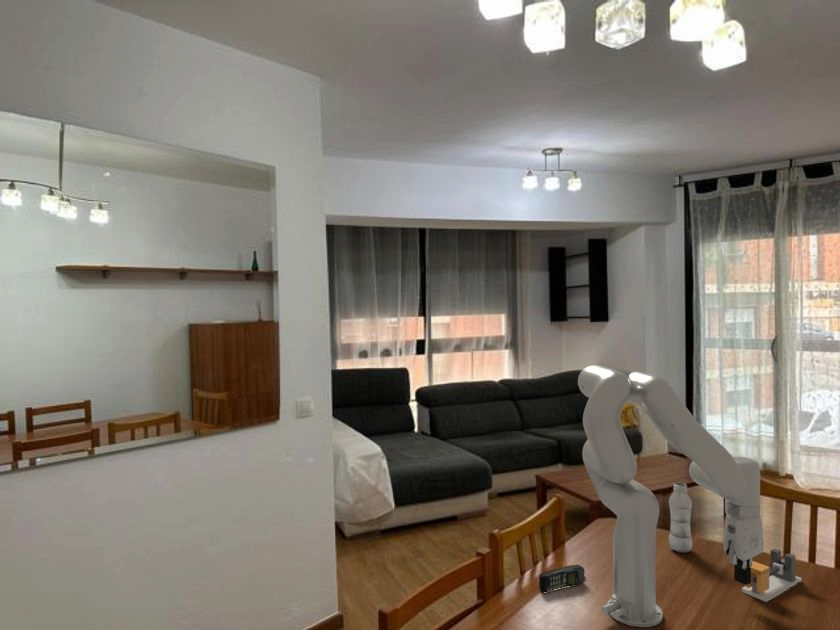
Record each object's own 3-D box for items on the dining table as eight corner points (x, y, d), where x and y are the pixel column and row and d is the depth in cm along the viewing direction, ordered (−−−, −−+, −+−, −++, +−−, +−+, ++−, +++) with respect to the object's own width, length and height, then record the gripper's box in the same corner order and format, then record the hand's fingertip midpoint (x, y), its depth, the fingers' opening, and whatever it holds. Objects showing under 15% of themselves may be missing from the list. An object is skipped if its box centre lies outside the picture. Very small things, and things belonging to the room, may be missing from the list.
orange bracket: (761, 593, 142) (761, 571, 142) (744, 586, 145) (744, 565, 145) (769, 588, 144) (769, 567, 144) (753, 581, 148) (753, 561, 147)
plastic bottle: (687, 545, 174) (687, 480, 173) (696, 555, 167) (695, 488, 167) (665, 545, 175) (665, 480, 174) (673, 555, 168) (672, 488, 167)
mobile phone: (543, 577, 147) (589, 564, 153) (536, 572, 149) (582, 559, 155) (544, 596, 147) (590, 582, 153) (537, 590, 150) (582, 577, 156)
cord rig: (766, 602, 142) (766, 572, 141) (741, 591, 147) (741, 563, 146) (801, 581, 151) (801, 553, 151) (777, 572, 156) (777, 545, 156)
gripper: (741, 520, 133) (741, 597, 134) (774, 506, 141) (774, 579, 142) (710, 510, 140) (710, 584, 140) (743, 498, 148) (743, 568, 148)
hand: (742, 581), depth 141 cm, fingers closed
